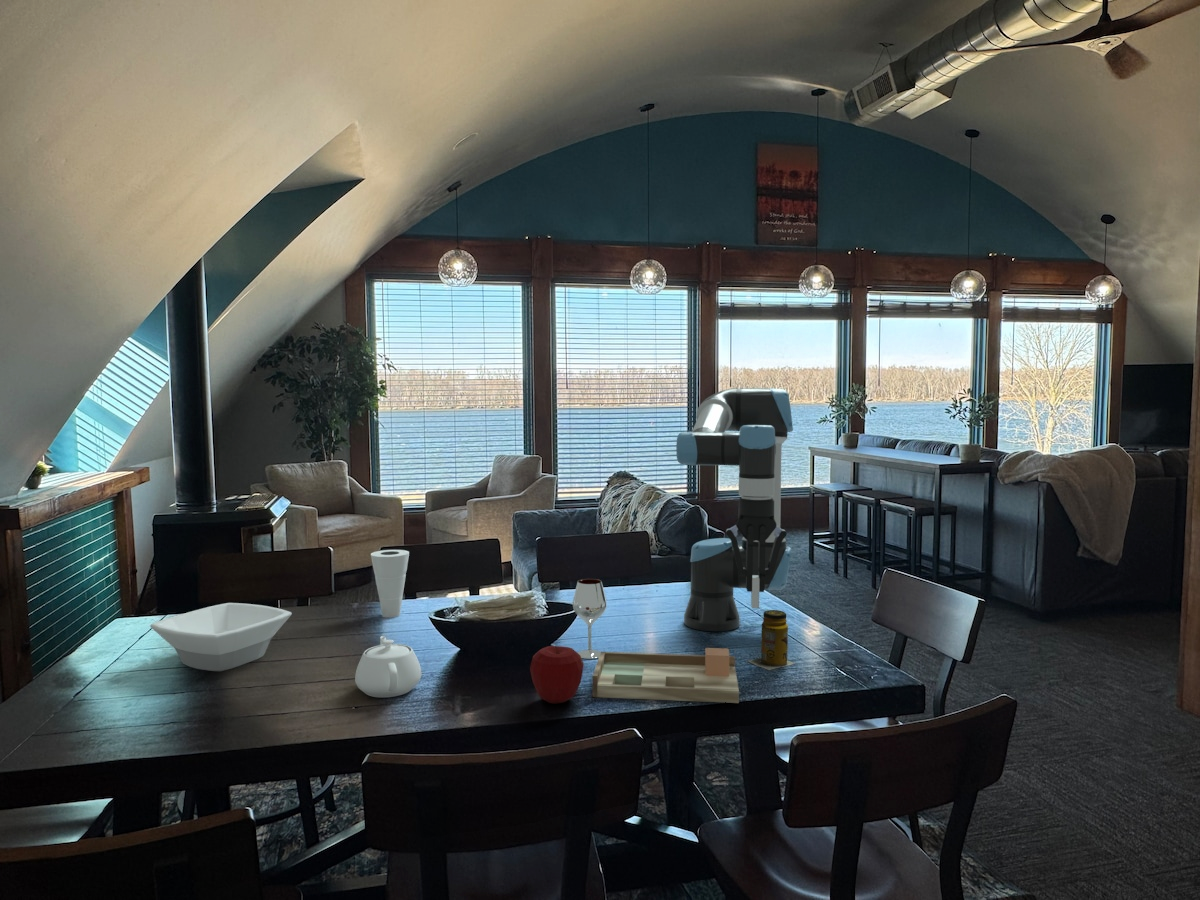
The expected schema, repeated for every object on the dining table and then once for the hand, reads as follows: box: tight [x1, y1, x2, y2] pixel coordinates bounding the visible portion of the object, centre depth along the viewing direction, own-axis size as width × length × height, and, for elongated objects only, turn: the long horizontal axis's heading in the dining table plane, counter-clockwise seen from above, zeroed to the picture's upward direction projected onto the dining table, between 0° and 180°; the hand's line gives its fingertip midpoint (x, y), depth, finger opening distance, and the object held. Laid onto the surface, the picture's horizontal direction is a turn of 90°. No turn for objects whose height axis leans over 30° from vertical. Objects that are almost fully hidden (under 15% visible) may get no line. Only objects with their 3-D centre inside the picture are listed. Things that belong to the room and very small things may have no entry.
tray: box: [592, 651, 740, 704], centre depth 172 cm, size 16×30×4 cm, turn 84°
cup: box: [370, 549, 410, 619], centre depth 228 cm, size 11×11×18 cm
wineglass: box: [572, 578, 608, 660], centre depth 192 cm, size 8×8×18 cm
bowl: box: [149, 602, 292, 672], centre depth 190 cm, size 24×25×10 cm
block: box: [704, 647, 730, 676], centre depth 173 cm, size 5×5×4 cm
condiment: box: [747, 609, 796, 671], centre depth 187 cm, size 7×8×12 cm
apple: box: [529, 645, 585, 705], centre depth 163 cm, size 11×11×12 cm
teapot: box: [354, 635, 422, 698], centre depth 170 cm, size 22×14×11 cm, turn 21°
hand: (755, 606), depth 172 cm, fingers closed
